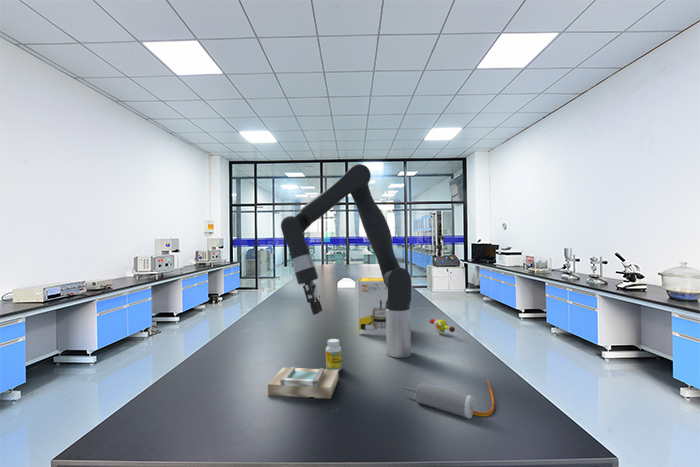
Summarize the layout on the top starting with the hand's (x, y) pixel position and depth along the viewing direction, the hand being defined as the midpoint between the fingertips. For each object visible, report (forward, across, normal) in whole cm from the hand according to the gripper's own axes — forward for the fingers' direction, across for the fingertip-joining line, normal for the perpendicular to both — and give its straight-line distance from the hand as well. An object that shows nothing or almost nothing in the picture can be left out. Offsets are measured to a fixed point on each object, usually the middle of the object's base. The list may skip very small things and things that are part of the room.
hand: (318, 312), depth 108 cm
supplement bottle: (+20, -1, 0) cm, 20 cm away
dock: (+18, -14, +8) cm, 25 cm away
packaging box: (+20, +46, -18) cm, 53 cm away
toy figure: (+29, +39, -46) cm, 67 cm away
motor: (+33, -18, -32) cm, 49 cm away
